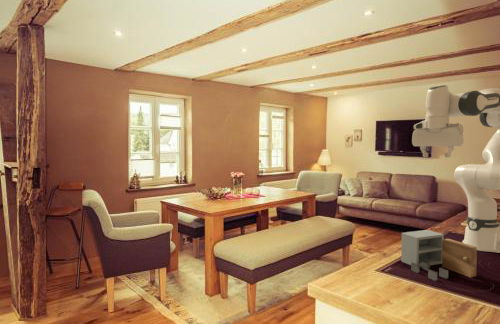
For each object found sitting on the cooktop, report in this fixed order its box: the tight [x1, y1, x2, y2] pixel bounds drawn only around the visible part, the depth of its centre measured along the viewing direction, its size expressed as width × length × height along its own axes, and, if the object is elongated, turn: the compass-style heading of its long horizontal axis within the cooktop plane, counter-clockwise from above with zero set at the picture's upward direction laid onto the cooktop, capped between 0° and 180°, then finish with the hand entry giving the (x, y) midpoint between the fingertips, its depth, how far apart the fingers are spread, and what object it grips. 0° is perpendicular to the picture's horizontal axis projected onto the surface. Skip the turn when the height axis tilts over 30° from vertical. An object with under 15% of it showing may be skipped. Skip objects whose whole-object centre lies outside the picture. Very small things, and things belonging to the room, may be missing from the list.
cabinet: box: [400, 229, 445, 268], centre depth 141 cm, size 14×8×12 cm, turn 109°
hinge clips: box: [410, 261, 449, 282], centre depth 128 cm, size 6×11×3 cm, turn 19°
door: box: [441, 238, 478, 278], centre depth 130 cm, size 4×12×11 cm, turn 19°
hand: (436, 157), depth 145 cm, fingers open, 8 cm apart
